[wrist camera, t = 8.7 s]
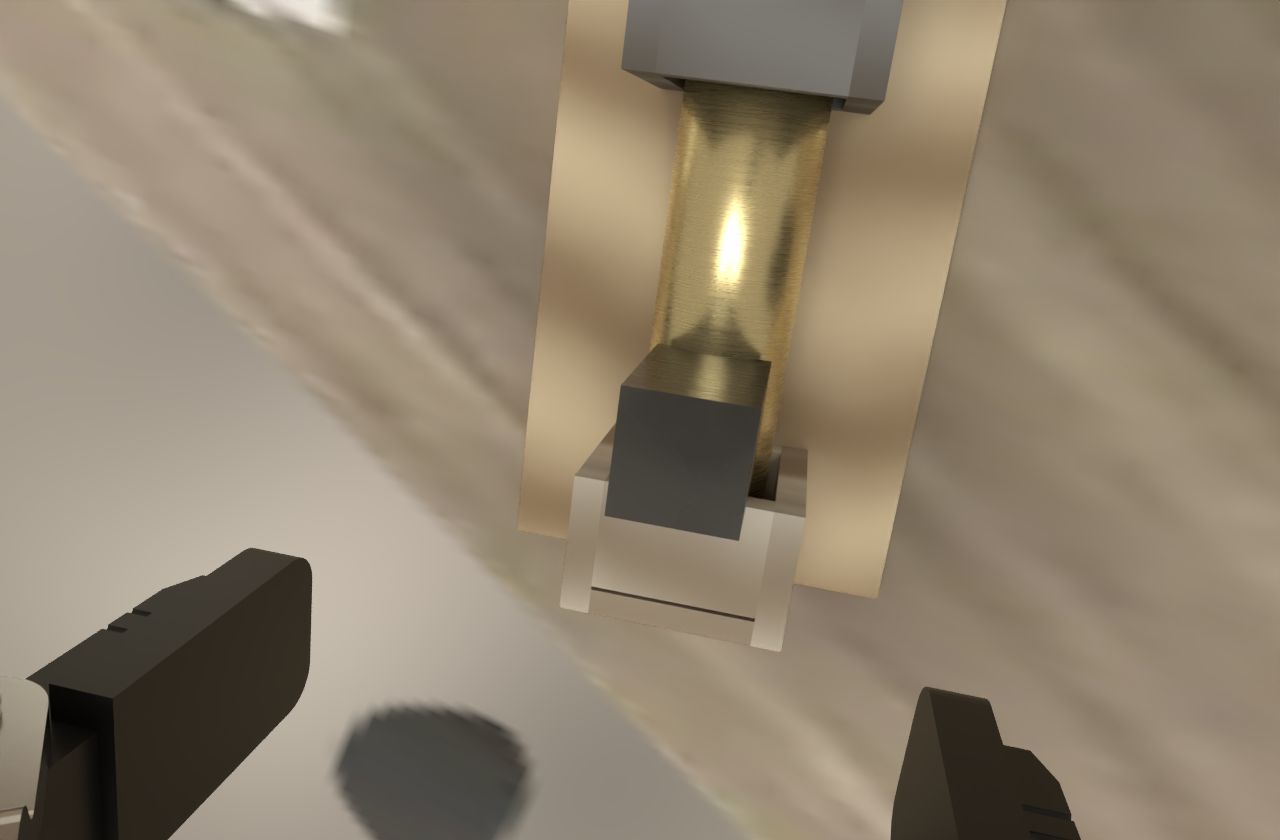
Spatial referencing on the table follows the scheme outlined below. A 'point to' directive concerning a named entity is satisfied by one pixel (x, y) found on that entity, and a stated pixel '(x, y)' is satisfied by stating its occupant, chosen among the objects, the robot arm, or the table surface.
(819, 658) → the table surface
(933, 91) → the tube stand
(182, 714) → the robot arm
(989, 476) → the table surface
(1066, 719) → the table surface
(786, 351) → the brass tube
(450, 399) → the table surface
